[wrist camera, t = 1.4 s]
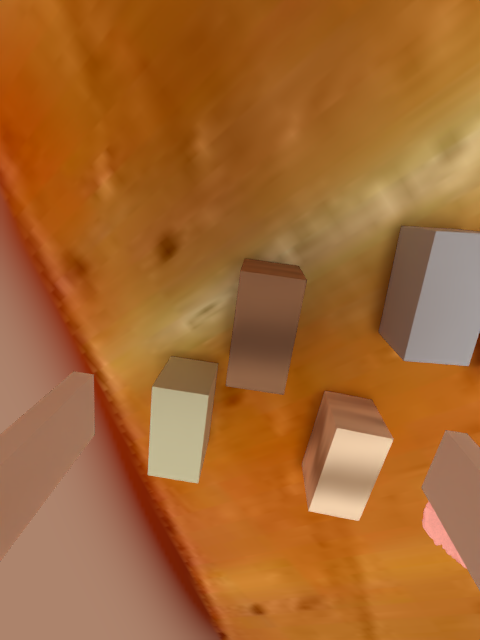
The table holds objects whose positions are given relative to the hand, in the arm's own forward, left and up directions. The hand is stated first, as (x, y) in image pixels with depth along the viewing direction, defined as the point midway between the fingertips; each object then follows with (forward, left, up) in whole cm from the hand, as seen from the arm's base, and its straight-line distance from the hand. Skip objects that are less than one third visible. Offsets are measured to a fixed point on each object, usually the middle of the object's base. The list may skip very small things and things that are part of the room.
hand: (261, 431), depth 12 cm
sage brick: (+9, -5, -14) cm, 17 cm away
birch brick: (+10, +8, -14) cm, 19 cm away
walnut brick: (0, 0, -14) cm, 14 cm away
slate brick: (-4, +11, -14) cm, 18 cm away
